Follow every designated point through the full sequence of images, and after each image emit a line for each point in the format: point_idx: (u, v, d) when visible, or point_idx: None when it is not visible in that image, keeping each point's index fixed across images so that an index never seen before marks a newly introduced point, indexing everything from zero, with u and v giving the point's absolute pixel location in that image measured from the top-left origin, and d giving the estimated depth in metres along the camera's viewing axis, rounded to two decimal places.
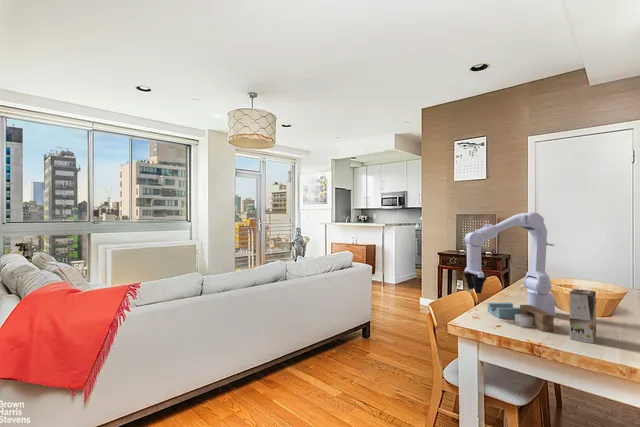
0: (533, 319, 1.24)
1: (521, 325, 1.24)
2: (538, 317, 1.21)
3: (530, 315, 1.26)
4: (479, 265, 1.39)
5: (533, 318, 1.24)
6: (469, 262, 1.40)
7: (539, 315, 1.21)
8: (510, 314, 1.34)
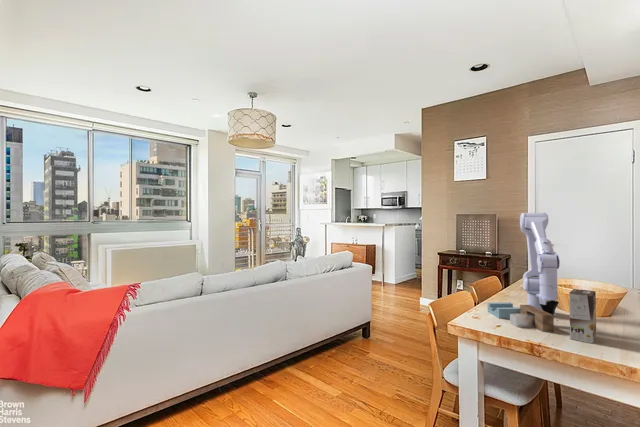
0: (528, 318, 1.24)
1: (516, 325, 1.24)
2: (538, 317, 1.21)
3: (525, 315, 1.26)
4: (550, 291, 1.23)
5: (528, 317, 1.24)
6: (539, 286, 1.27)
7: (539, 315, 1.21)
8: None
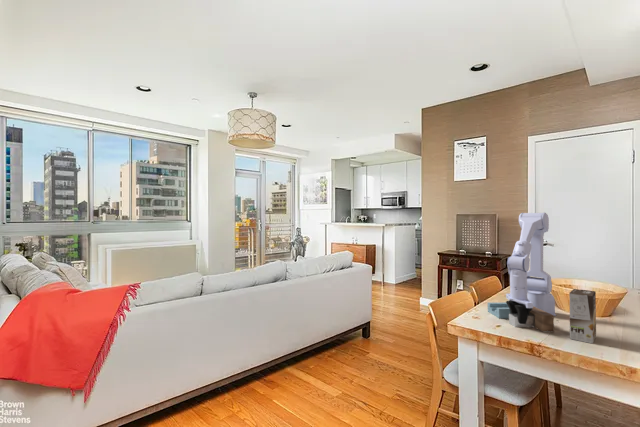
0: (527, 318, 1.24)
1: (515, 324, 1.24)
2: (538, 317, 1.21)
3: None
4: (525, 293, 1.24)
5: None
6: (514, 289, 1.25)
7: (539, 315, 1.21)
8: None
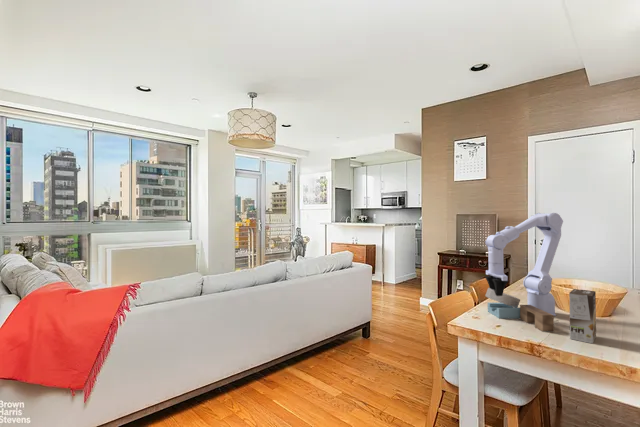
0: (502, 295, 1.37)
1: (490, 296, 1.38)
2: (538, 317, 1.21)
3: None
4: (502, 268, 1.37)
5: (503, 294, 1.37)
6: (491, 265, 1.38)
7: (539, 315, 1.21)
8: (510, 314, 1.34)
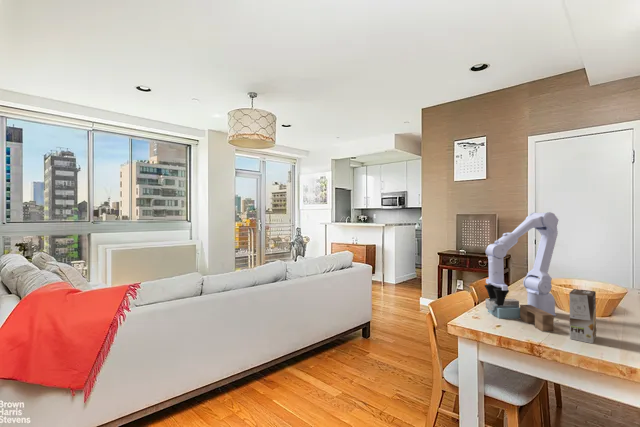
0: None
1: (490, 308, 1.38)
2: (538, 317, 1.21)
3: None
4: (502, 277, 1.37)
5: None
6: (491, 274, 1.38)
7: (539, 315, 1.21)
8: (510, 314, 1.34)
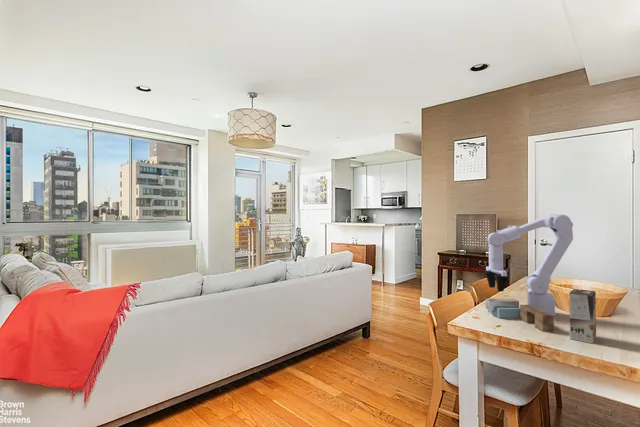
0: (501, 303, 1.37)
1: (490, 308, 1.38)
2: (538, 317, 1.21)
3: (499, 299, 1.39)
4: (501, 264, 1.44)
5: (501, 302, 1.37)
6: (491, 261, 1.45)
7: (539, 315, 1.21)
8: (510, 314, 1.34)
